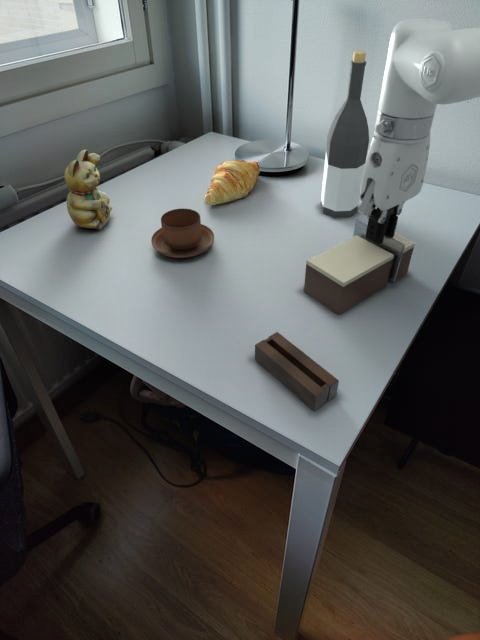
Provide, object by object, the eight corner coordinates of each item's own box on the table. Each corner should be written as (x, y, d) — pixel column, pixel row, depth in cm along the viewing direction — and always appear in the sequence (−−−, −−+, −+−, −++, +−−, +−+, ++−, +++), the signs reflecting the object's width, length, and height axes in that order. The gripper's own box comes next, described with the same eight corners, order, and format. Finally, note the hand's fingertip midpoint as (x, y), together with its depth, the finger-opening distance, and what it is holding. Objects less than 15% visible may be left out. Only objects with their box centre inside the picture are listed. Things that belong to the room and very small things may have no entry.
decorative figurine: (102, 236, 93) (85, 163, 83) (63, 234, 94) (41, 162, 84) (118, 212, 100) (103, 143, 90) (81, 211, 101) (63, 142, 91)
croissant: (218, 226, 102) (232, 200, 96) (184, 197, 102) (195, 170, 96) (265, 186, 115) (279, 162, 109) (234, 161, 115) (247, 135, 109)
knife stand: (336, 395, 62) (339, 380, 60) (313, 411, 60) (316, 396, 58) (276, 346, 69) (277, 331, 67) (254, 359, 67) (254, 344, 65)
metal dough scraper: (397, 279, 79) (415, 217, 71) (390, 284, 78) (407, 222, 70) (353, 253, 85) (365, 193, 77) (346, 257, 84) (357, 197, 76)
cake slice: (406, 273, 82) (415, 242, 77) (392, 282, 80) (400, 251, 76) (371, 254, 86) (377, 224, 82) (357, 262, 85) (362, 231, 80)
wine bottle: (353, 221, 96) (380, 58, 76) (315, 214, 98) (332, 55, 78) (360, 203, 102) (386, 48, 82) (324, 198, 104) (341, 45, 84)
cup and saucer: (153, 232, 94) (149, 204, 90) (212, 228, 95) (211, 200, 90) (151, 266, 85) (146, 236, 81) (216, 261, 86) (214, 232, 82)
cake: (386, 286, 79) (394, 254, 75) (338, 315, 74) (343, 283, 69) (351, 265, 84) (356, 234, 80) (303, 291, 78) (306, 259, 74)
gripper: (388, 145, 59) (365, 265, 71) (459, 118, 66) (427, 230, 78) (344, 130, 63) (329, 244, 76) (415, 106, 71) (391, 214, 83)
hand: (379, 236), depth 77 cm, fingers closed on metal dough scraper, 2 cm apart
